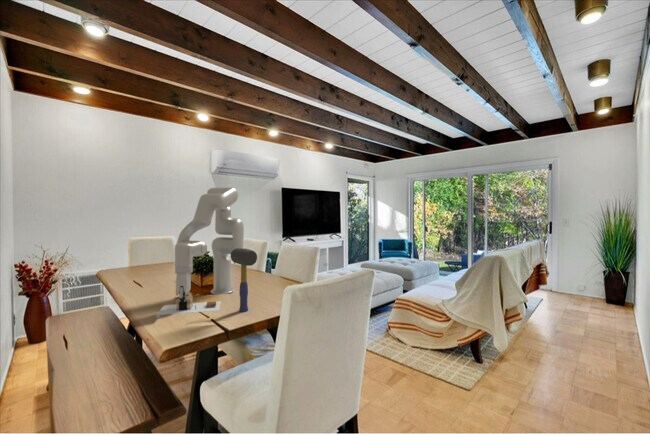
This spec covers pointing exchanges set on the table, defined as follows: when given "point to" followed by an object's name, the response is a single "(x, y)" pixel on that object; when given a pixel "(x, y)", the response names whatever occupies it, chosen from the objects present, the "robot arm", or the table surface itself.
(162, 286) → the table surface
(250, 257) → the rubber mallet
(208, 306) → the walnut offcut
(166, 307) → the board
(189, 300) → the sanding block
